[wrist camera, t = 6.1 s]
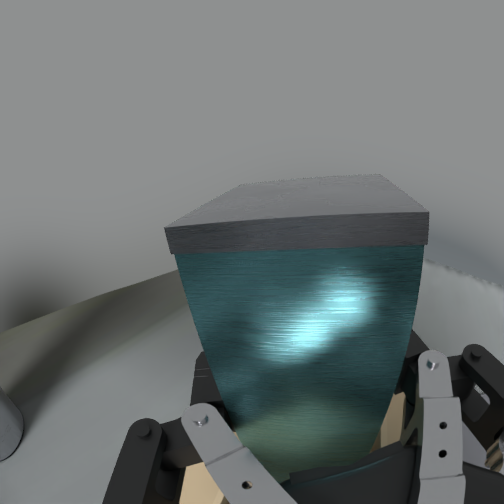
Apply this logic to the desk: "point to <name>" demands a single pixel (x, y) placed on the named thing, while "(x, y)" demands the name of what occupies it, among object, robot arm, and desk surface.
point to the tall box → (304, 310)
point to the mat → (473, 445)
